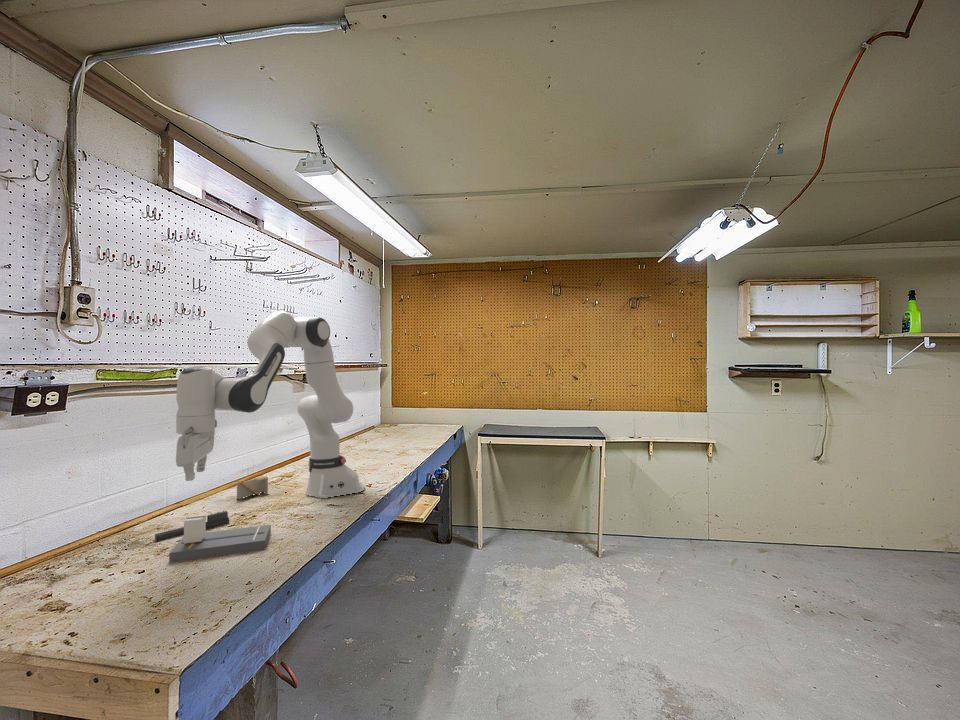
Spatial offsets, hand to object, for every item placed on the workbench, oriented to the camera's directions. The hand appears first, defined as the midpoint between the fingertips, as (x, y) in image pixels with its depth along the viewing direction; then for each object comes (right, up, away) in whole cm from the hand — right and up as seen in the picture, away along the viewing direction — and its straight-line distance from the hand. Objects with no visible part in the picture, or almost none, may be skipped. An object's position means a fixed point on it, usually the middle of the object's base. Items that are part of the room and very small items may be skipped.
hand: (195, 475), depth 113 cm
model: (-10, -22, +46) cm, 52 cm away
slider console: (+7, -21, +2) cm, 22 cm away
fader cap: (0, -18, 0) cm, 18 cm away
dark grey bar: (-9, -21, +13) cm, 27 cm away
